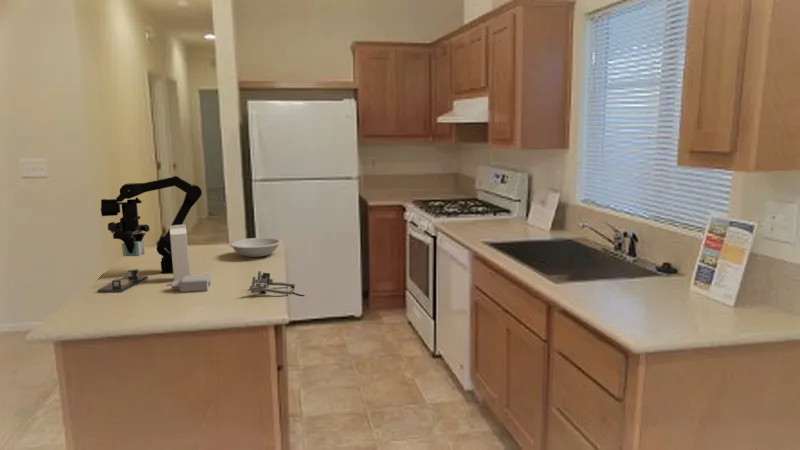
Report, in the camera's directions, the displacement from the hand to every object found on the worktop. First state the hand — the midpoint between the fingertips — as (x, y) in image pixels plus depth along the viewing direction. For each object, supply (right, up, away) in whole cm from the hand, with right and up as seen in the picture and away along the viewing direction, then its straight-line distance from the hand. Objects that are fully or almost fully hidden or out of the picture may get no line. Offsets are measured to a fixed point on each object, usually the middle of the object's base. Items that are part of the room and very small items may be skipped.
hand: (133, 252), depth 237 cm
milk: (+22, -11, -7) cm, 26 cm away
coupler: (0, -1, 0) cm, 1 cm away
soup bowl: (+42, -4, +34) cm, 54 cm away
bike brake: (+66, -14, -27) cm, 73 cm away
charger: (+30, -13, -22) cm, 40 cm away
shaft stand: (+3, -12, -14) cm, 19 cm away
